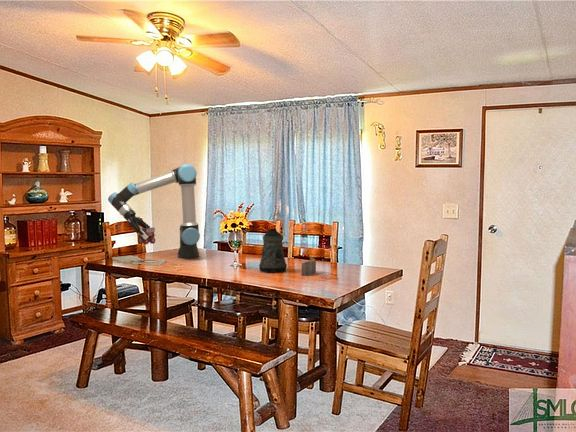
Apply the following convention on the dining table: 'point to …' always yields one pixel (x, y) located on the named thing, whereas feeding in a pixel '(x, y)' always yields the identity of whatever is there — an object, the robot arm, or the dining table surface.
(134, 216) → the robot arm
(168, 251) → the dining table surface
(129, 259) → the cream bay
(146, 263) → the grey bay
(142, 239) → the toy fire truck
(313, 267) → the grey rectangular block
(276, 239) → the dark tapered vessel
